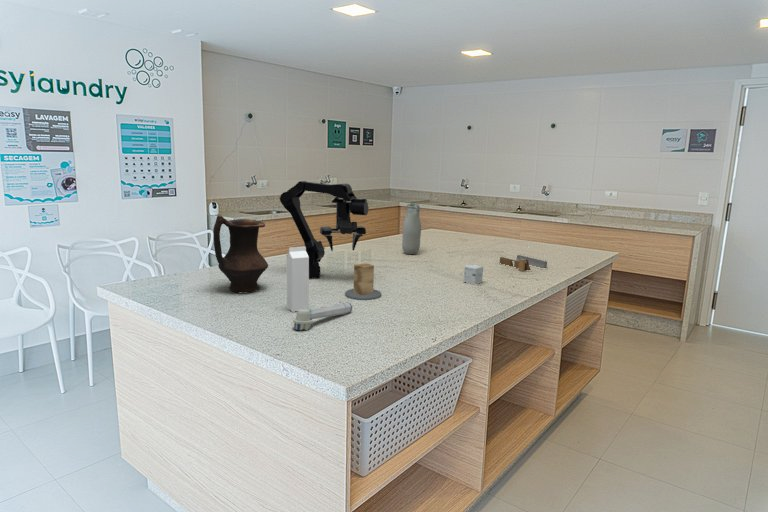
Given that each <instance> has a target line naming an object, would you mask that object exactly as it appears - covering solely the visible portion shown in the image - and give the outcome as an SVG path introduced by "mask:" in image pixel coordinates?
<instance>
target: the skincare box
mask: <svg viewBox="0 0 768 512" xmlns="http://www.w3.org/2000/svg"><path fill="white" fill-rule="evenodd" d="M483 274H484V266H480V265H475V264H468V265H464V270H463V283H464V282H466V283H465V284H468V283H471V284H470V285H472V284H477V285H479V284H478V283H480V284H482V283H483ZM481 282H482V283H481Z"/></svg>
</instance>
